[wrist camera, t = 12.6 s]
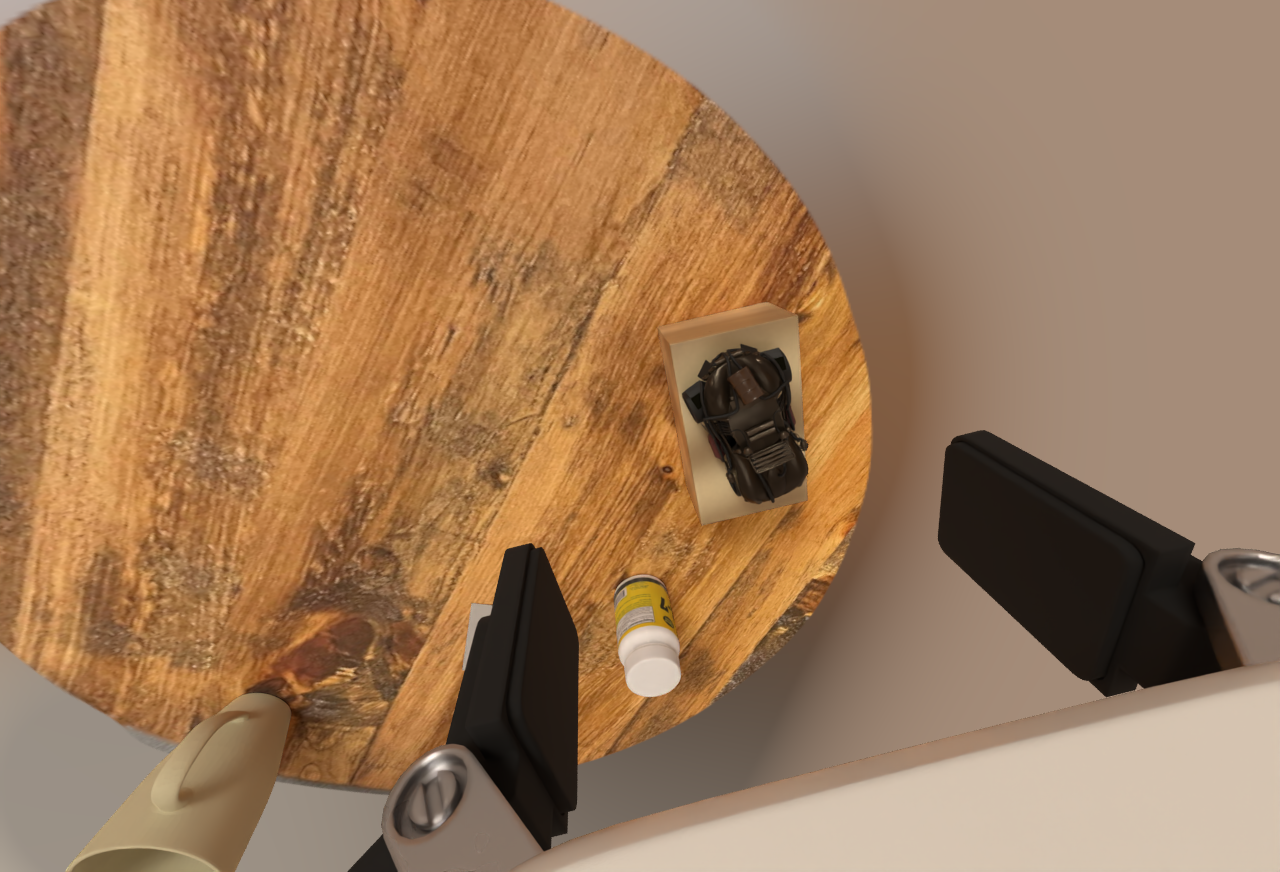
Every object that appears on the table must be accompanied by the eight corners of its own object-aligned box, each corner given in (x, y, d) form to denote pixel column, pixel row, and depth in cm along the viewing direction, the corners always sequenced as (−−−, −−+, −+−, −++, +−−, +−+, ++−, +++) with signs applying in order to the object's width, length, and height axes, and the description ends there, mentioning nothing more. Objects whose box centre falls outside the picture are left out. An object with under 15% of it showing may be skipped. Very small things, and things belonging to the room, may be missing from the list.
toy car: (766, 321, 27) (799, 338, 23) (817, 482, 32) (851, 519, 28) (668, 366, 27) (683, 391, 23) (734, 518, 32) (756, 559, 28)
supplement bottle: (672, 605, 42) (692, 691, 34) (622, 620, 42) (630, 708, 34) (659, 566, 40) (678, 647, 32) (606, 581, 40) (612, 666, 32)
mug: (347, 719, 43) (268, 887, 32) (252, 755, 44) (142, 931, 33) (265, 643, 38) (140, 809, 27) (159, 684, 39) (-4, 863, 28)
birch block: (656, 326, 31) (669, 344, 27) (767, 301, 31) (798, 314, 27) (687, 488, 37) (701, 525, 32) (780, 466, 37) (808, 500, 32)
